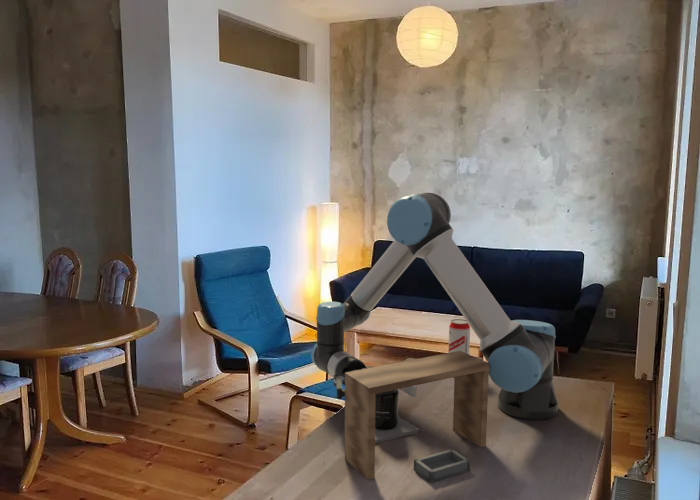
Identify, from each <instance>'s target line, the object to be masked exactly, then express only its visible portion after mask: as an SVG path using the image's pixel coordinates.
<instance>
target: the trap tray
mask: <svg viewBox="0 0 700 500" xmlns="http://www.w3.org/2000/svg"><path fill="white" fill-rule="evenodd" d="M413 470H414V471H415V472H417V474H419V475H420V476H422V477H423V478H424V479H426V480H427V481H428V482H429V483H431V484H432V483H434V482H438V481H441V480H444V479H446V478H450V477H454V476H457V475H460V474H463V473H466V472H470V471H471V460H470V459H468V458H467V457H465V456H464V455H462V454H460V453H459V452H458V451H456V450H455V449H453V448H450V449H447V450H444V451H443V450H442V451H440V452H437V453H434V454H430V455H426V456H423V457H419V458H416V459H413Z"/></svg>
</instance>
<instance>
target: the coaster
mask: <svg viewBox="0 0 700 500" xmlns="http://www.w3.org/2000/svg"><path fill="white" fill-rule="evenodd" d="M418 433H419V428H418V427H415V426H414V425H412V423H409V421H406V420H405V419H403V417H401V416H399V415H398V423H397V426H396V427H395V428H393V429H390V430H380V429H376V428H375V444H379V443H383V442H387V441H390V440H394V439H399V438H401V437H406V436H410V435H414V434H418Z"/></svg>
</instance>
